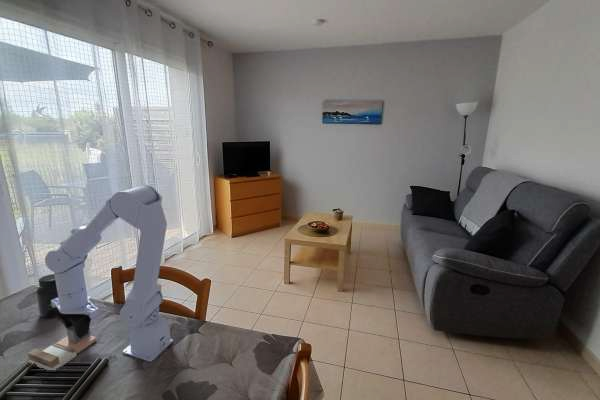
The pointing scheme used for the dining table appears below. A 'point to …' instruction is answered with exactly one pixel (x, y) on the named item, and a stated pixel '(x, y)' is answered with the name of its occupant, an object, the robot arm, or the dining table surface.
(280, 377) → the dining table surface
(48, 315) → the supplement bottle
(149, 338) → the robot arm
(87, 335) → the grey and peach block
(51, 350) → the board
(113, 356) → the dining table surface
